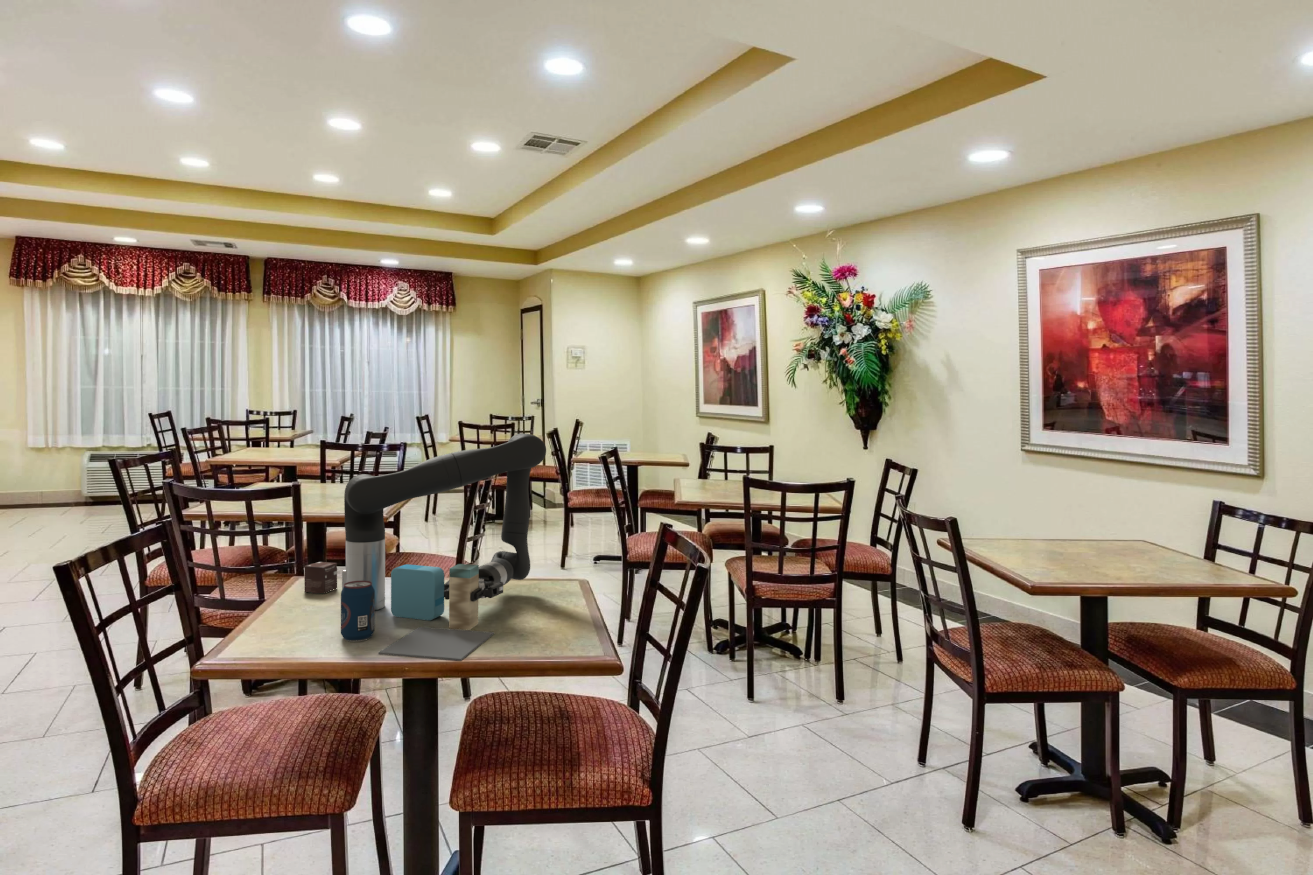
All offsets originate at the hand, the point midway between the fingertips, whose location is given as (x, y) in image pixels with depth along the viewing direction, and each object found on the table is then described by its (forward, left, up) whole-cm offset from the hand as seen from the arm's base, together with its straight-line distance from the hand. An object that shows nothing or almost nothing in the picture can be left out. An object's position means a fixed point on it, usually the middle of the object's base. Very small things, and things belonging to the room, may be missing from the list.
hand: (459, 596), depth 175 cm
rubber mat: (0, -11, -8) cm, 13 cm away
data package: (-14, +7, -8) cm, 18 cm away
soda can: (-19, -11, -8) cm, 23 cm away
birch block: (0, +2, -8) cm, 8 cm away
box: (-50, +23, -8) cm, 56 cm away
